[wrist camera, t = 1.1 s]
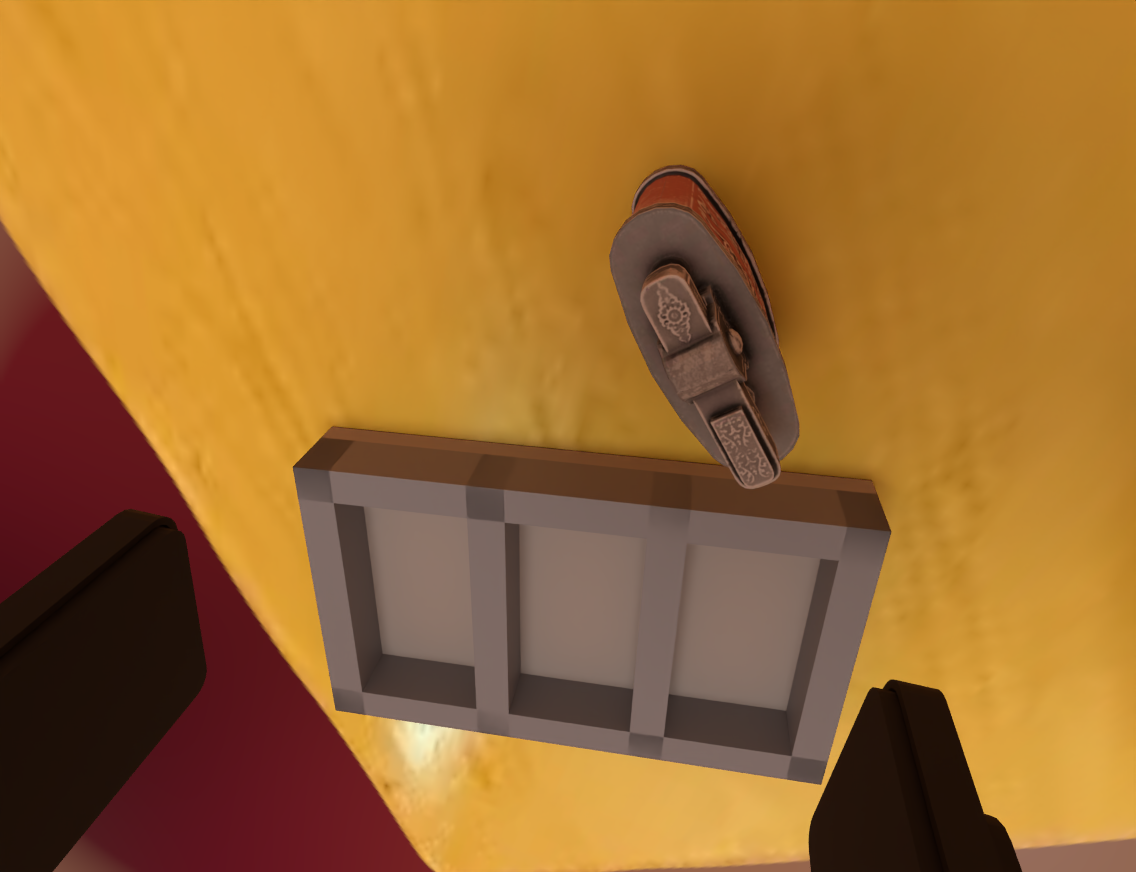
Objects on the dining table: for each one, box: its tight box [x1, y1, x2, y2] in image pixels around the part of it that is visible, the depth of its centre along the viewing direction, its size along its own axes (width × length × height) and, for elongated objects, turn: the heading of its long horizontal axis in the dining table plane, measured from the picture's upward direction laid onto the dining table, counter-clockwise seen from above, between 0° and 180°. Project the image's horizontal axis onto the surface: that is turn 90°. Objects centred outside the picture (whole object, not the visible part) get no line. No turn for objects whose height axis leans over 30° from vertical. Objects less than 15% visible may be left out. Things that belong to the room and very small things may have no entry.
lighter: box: [609, 165, 799, 489], centre depth 22 cm, size 8×3×10 cm, turn 30°
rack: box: [293, 427, 891, 785], centre depth 32 cm, size 22×14×4 cm, turn 89°
